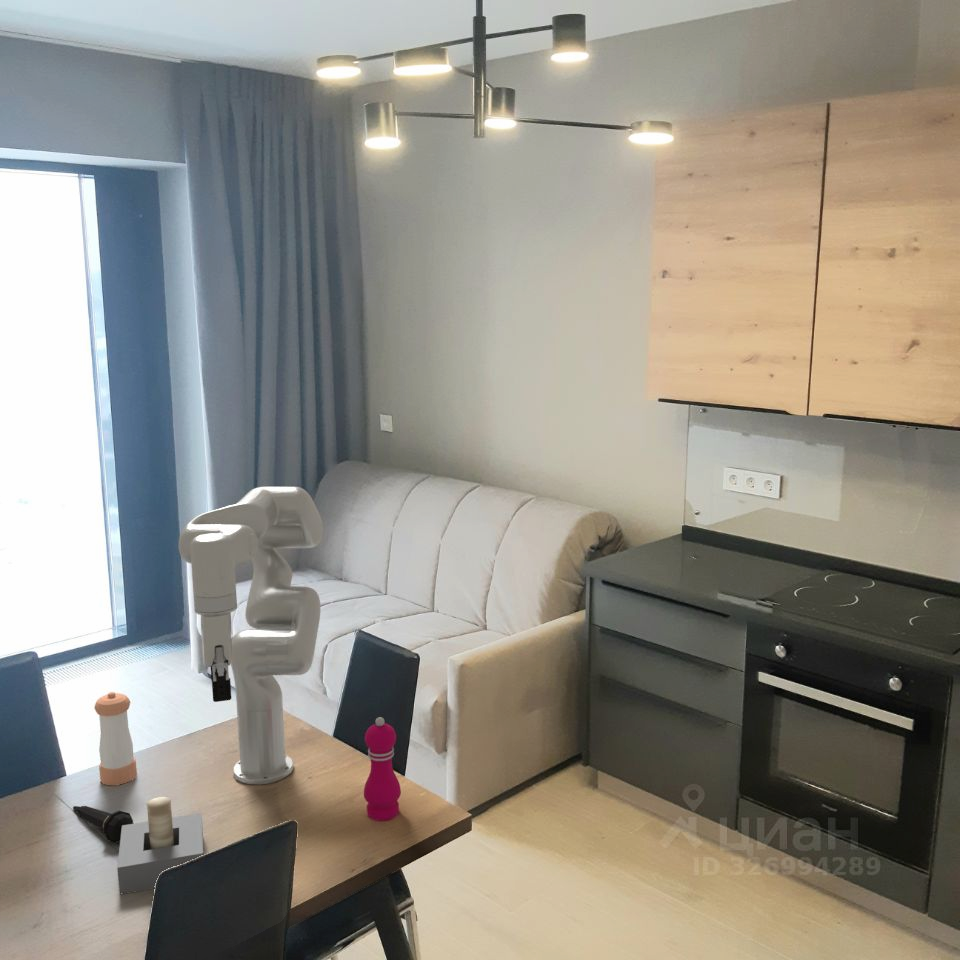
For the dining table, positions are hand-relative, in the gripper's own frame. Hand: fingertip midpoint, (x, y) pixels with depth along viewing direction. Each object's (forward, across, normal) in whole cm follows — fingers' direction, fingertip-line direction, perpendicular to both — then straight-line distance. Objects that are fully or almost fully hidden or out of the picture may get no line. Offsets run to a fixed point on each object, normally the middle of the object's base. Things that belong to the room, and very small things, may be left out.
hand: (221, 690), depth 177 cm
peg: (+28, +8, -12) cm, 32 cm away
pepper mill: (+28, +3, +29) cm, 41 cm away
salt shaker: (+28, -29, -22) cm, 46 cm away
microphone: (+29, -10, -23) cm, 38 cm away
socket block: (+28, +8, -12) cm, 32 cm away
